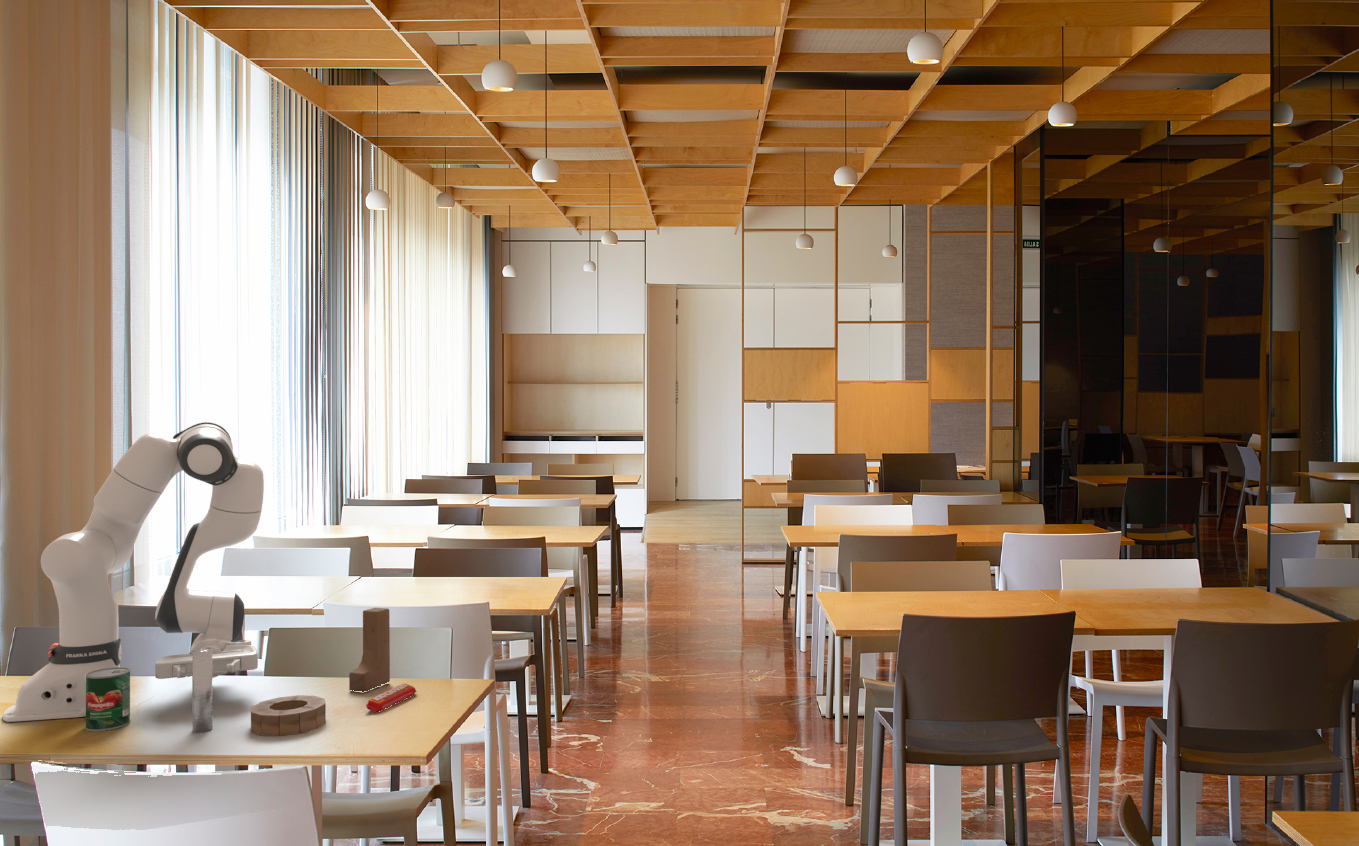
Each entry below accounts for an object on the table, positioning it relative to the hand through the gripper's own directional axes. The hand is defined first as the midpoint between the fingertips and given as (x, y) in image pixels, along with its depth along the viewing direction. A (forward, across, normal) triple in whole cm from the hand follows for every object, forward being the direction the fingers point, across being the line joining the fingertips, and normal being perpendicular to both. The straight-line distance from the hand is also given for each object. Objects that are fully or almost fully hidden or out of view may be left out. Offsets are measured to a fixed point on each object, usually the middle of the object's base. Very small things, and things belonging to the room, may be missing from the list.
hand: (205, 671), depth 197 cm
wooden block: (-6, +34, +9) cm, 36 cm away
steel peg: (+12, 0, +9) cm, 15 cm away
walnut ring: (+16, +16, +9) cm, 24 cm away
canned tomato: (0, -18, +9) cm, 20 cm away
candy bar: (+9, +37, +10) cm, 40 cm away
